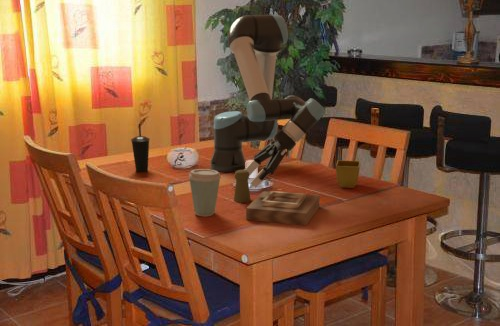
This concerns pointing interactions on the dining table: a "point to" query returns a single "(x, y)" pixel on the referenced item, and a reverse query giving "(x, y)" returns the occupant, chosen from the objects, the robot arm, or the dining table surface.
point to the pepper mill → (242, 186)
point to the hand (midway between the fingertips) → (248, 180)
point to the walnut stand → (283, 207)
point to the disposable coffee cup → (204, 190)
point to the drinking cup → (140, 152)
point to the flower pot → (347, 173)
